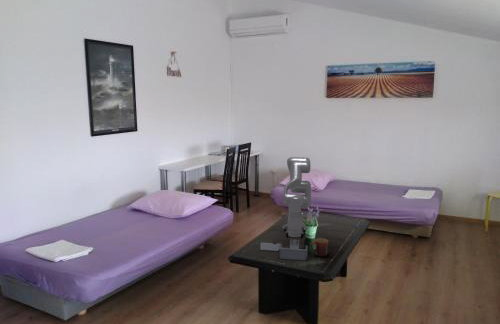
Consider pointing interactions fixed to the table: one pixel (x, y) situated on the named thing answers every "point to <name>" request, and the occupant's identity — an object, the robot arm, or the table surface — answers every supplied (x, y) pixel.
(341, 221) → the table surface
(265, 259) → the table surface
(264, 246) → the lock bar
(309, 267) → the table surface
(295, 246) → the lock block
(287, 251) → the grey open bin
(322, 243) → the mug
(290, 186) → the robot arm
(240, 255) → the table surface
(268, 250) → the track
